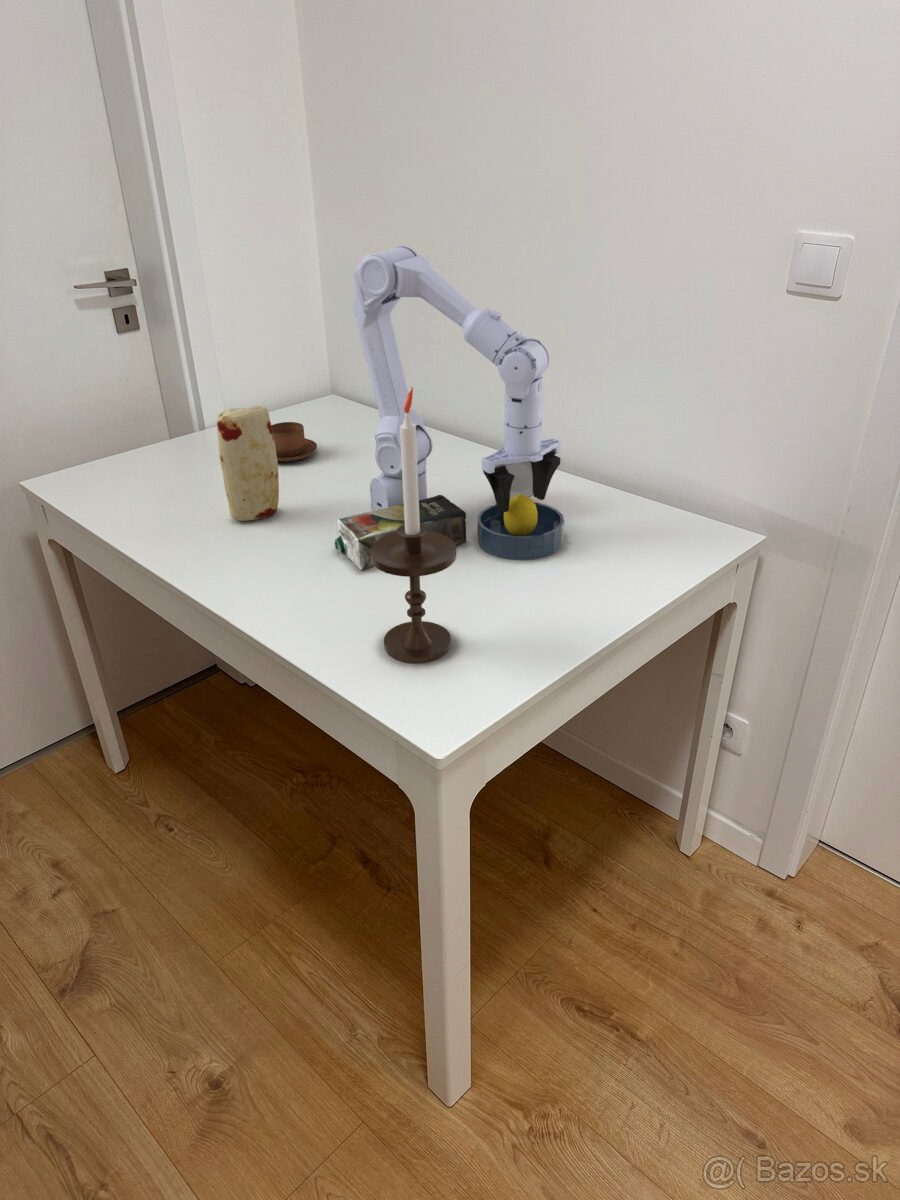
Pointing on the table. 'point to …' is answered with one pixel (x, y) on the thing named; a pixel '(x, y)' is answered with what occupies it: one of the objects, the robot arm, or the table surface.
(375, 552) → the candlestick
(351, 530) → the juice carton
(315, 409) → the table surface
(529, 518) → the lemon
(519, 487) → the canned food
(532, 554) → the bowl
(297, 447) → the cup and saucer
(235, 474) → the food model
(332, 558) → the table surface
